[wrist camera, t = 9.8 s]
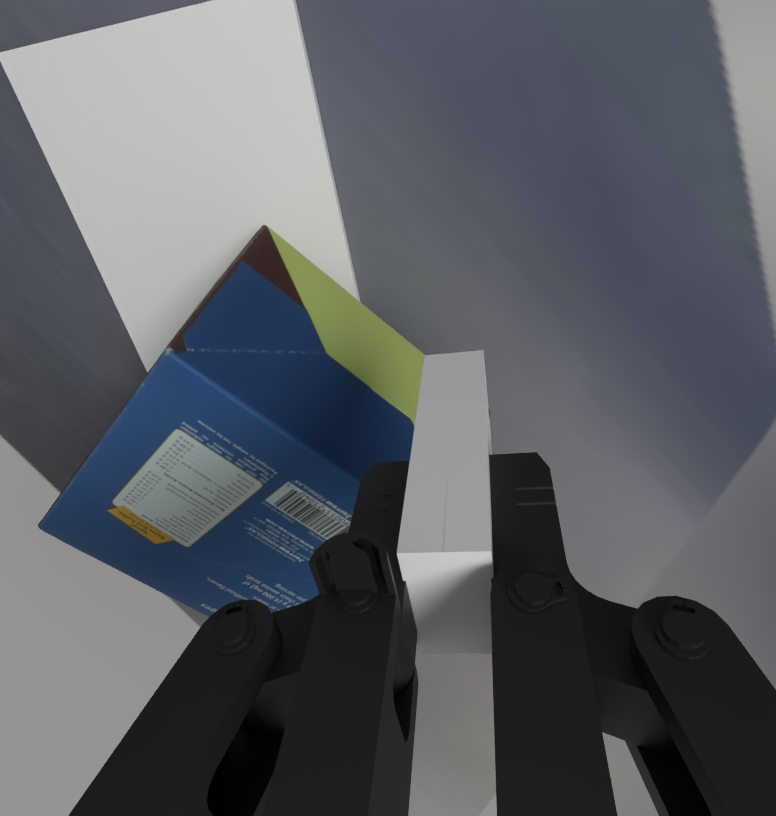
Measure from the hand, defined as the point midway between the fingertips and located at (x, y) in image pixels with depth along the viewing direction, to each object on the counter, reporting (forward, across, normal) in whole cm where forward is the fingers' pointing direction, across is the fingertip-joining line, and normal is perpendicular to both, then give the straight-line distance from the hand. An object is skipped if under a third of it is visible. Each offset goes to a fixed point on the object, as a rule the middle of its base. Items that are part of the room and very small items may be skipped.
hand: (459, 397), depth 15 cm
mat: (+15, -13, +1) cm, 20 cm away
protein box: (+8, -4, -4) cm, 10 cm away
